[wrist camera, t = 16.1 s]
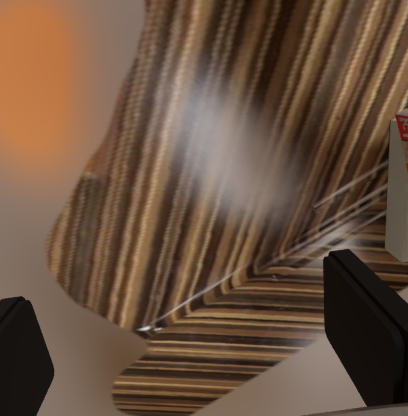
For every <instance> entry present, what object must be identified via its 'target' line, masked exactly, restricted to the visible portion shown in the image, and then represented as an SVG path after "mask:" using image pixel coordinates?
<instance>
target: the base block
mask: <svg viewBox="0 0 408 416" xmlns="http://www.w3.org/2000/svg"><path fill="white" fill-rule="evenodd" d="M385 250H386V251H388V252H389V253H390V254H392V255H393V256H394V257H395V258H397V259H398V260H399V261H401V262H408V172H407V168H406V162H405V159H404V154H403V150H402V145H401V138H400V133H399V129H398V125H397V121H396V119H395V120H391V123H390V145H389V168H388V190H387V212H386V234H385Z"/></svg>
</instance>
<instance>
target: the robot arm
mask: <svg viewBox="0 0 408 416" xmlns="http://www.w3.org/2000/svg"><path fill="white" fill-rule="evenodd" d="M323 275H324V323H325V332H326V336H327V338H328V340H329V342H330V344H331V345H332V347H333V349H334V350H335V352H336V354H337V355H338V357H339V359H340V361H341V362H342V364H343V366H344V368H345V369H346V371H347V373H348V374H349V376H350V378H351V380H352V381H353V383H354V385H355V386H356V388H357V390H358V392H359V393H360V395H361V397H362V399H363V400H364V402H365V404H366V405H367V407H360V408H353V409H346V410H340V411H332V412H324V413H316V414H309V415H302V416H408V303H407V302H406V301H405V300H403V299H402V298H401V297H400V296H399V295H398V294H397V293H396V292H395V291H394V290H393V289H392V288H390V287H389V286H387V285H386V284H385V283H384V282H383V281H382V280H381V279H380V278H379V277H378V276H377V275H376V274H375V273H374V272H373V271H372V270H371V269H369V268H368V267H367V266H366V265H365V264H364V263H363V262H362V261H361V260H360V259H359V258H358V257H357V256H356V255H355V254H354V253H353V252H352V251H351V250H349V249H344V250H337V251H330V252H329V255H328V257H324V259H323ZM53 377H54V367H53V364H52V360H51V358H50V355H49V352H48V349H47V346H46V344H45V341H44V338H43V335H42V332H41V329H40V326H39V324H38V321H37V318H36V315H35V312H34V309H33V306H32V304H31V302H30V301H29V300H25V298H23V297H22V296H20V297H13V298H6V299H1V300H0V416H36V415H37V412H38V411H39V408H40V406H41V404H42V402H43V400H44V398H45V395H46V393H47V391H48V389H49V387H50V385H51V382H52V380H53Z"/></svg>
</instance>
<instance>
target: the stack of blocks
mask: <svg viewBox="0 0 408 416" xmlns="http://www.w3.org/2000/svg"><path fill="white" fill-rule="evenodd" d="M395 117H396V121H397V125H398V129H399V133H400V138H401V145H402V150H403V154H404V159H405V162H406V168H407V172H408V108H407V109H405V110H403V111H401V112H399V113H397V114H395Z"/></svg>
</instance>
